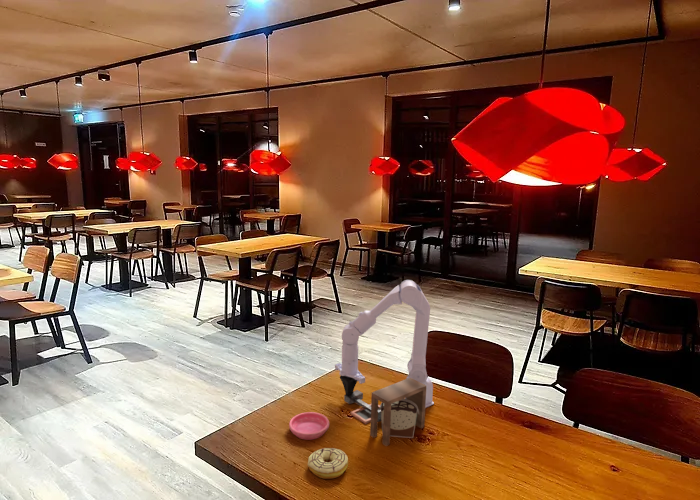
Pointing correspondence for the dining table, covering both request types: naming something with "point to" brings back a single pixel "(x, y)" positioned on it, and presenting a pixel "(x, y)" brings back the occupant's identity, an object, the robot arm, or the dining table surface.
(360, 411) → the picture frame
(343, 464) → the decorated donut
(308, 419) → the pink shallow round bowl
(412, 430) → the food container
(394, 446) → the dining table surface
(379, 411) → the grey piece
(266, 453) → the dining table surface
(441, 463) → the dining table surface
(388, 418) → the tunnel
